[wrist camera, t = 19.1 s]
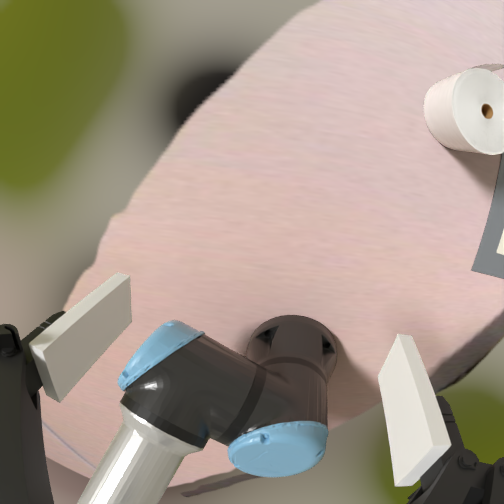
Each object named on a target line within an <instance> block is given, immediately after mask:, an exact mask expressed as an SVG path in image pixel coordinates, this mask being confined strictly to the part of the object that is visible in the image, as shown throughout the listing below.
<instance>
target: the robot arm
mask: <svg viewBox="0 0 504 504" xmlns="http://www.w3.org/2000/svg"><path fill="white" fill-rule="evenodd" d="M131 322H132V313H131V289H130V276H129V275H126V274H122V273H118V272H117V273H116V274H115V275H113V276H112V277H111V278H109V279H108V280H107V281H105V282H104V283H103V284H101V285H100V286H99V287H98V288H96V289H95V290H94V291H92V292H91V293H90V294H89V295H87V296H86V297H85V298H84V299H82V300H81V301H80V302H78V303H77V304H76V305H75V306H73V307H72V308H71V309H70V310H69V311H67V312H65V311H61V312H58V313H56V314H54V315H52V316H51V317H49V318H48V319H47V320H46V321H45V322H43V323H42V324H41V325H40V326H39V327H37V328H36V329H35V330H33V331H32V332H31V333H30V334H29V335H27V336H26V337H25V338H24V339H22V340H20V337H19V333H18V330H17V328H16V327H15V326H13V325H11V324H2V325H0V504H54V501H53V496H52V492H51V487H50V482H49V476H48V471H47V465H46V457H45V450H44V442H43V433H42V422H41V407H40V394H39V391H38V390H39V389H40V388H41V387H42V386H43V388H44V390H45V393H46V395H47V396H49V397H51V398H52V399H54V400H56V401H58V402H59V403H60V402H61V401H62V400H63V399H64V398H65V396H66V395H67V394H68V393H69V392H70V391H71V389H72V388H73V387H74V386H75V385H76V384H77V382H78V381H79V380H80V379H81V378H82V377H83V376H84V374H85V373H86V372H87V371H88V370H89V369H90V368H91V366H92V365H93V364H94V363H95V362H96V361H97V360H98V359H99V357H100V356H101V355H102V354H103V353H104V352H105V351H106V350H107V349H108V347H109V346H110V345H111V344H112V343H113V342H114V341H115V340H116V339H117V337H118V336H119V335H120V334H121V333H122V332H123V331H124V330H125V329H126V328H127V327H128V325H129V324H130V323H131ZM336 360H337V351H336V343H335V340H334V338H333V336H332V334H331V333H330V332H329V330H328V329H327V328H326V327H324V326H323V325H322V324H320V323H319V322H317V321H315V320H313V319H310V318H307V317H304V316H297V315H285V316H279V317H275V318H273V319H270V320H268V321H266V322H264V323H263V324H262V325H260V326H259V327H258V328H257V329H256V330H255V331H254V333H253V335H252V336H251V339H250V342H249V345H248V349H247V358H246V357H244V356H242V355H240V354H238V353H236V352H235V351H233V350H231V349H229V348H227V347H226V346H224V345H222V344H220V343H219V342H217V341H215V340H213V339H212V338H210V337H208V336H206V335H205V333H204V332H203V331H200V332H199V331H198V330H196V329H194V328H192V327H190V326H188V325H186V324H184V323H183V322H180V321H177V320H172V321H168V322H166V323H164V324H163V325H161V326H160V327H159V328H158V329H156V330H155V331H154V332H153V333H152V334H151V335H150V336H149V337H148V339H147V340H146V341H145V342H144V343H143V344H142V345H141V347H140V348H139V349H138V350H137V351H136V353H135V354H134V355H133V357H132V358H131V359H130V361H129V362H128V364H127V365H126V367H125V369H124V371H123V372H122V373H121V375H120V376H119V379H118V385H119V387H120V388H121V390H123V391H126V392H125V394H124V396H123V398H122V399H121V401H120V403H119V406H120V409H121V412H122V416H123V422H122V424H121V426H120V428H119V429H118V431H117V433H116V435H115V436H114V438H113V440H112V442H111V443H110V445H109V447H108V449H107V450H106V452H105V454H104V456H103V458H102V459H101V461H100V463H99V465H98V466H97V468H96V470H95V472H94V474H93V475H92V477H91V479H90V481H89V483H88V484H87V486H86V488H85V490H84V492H83V493H82V496H81V497H80V499H79V501H78V503H77V504H157V503H158V502H159V500H160V498H161V497H162V495H163V493H164V492H165V490H166V488H167V486H168V485H169V483H170V481H171V480H172V478H173V476H174V474H175V473H176V471H177V469H178V467H179V466H180V464H181V462H182V460H183V459H184V457H185V456H186V455H188V454H190V453H195V452H199V451H202V450H203V449H204V447H205V445H206V443H207V441H208V440H209V439H210V438H211V439H213V440H216V441H218V442H220V443H222V444H224V445H226V446H229V448H228V450H227V451H228V456H229V460H230V461H231V463H233V464H234V466H235V467H236V468H238V469H240V470H241V471H243V472H246V473H249V474H252V475H257V476H263V477H283V476H291V475H295V474H299V473H302V472H304V471H307V470H309V469H310V468H312V467H313V466H315V465H316V464H317V463H318V462H319V461H320V460H321V459H322V457H323V455H324V453H325V448H326V440H327V436H328V429H327V383H328V381H329V379H330V377H331V375H332V373H333V370H334V368H335V365H336ZM378 381H379V386H380V391H381V396H382V402H383V407H384V412H385V418H386V424H387V430H388V436H389V443H390V450H391V457H392V465H393V473H394V482H395V486H412V485H413V484H414V483H415V482H416V481H418V480H419V479H420V480H421V487H419V488H418V489H417V490H416V491H415V492H414V493H413V494H411V495H410V496H409V497H408V499H410V500H409V502H408V503H407V504H504V457H502V458H500V459H498V460H497V461H496V462H495V463H494V464H493V465H491V464H486V463H482V462H479V459H478V458H477V456H476V454H474V453H473V452H472V451H470V450H468V449H465V448H464V445H463V442H462V439H461V436H460V433H459V430H458V427H457V424H456V423H455V419H454V416H453V413H452V410H451V408H450V405H449V404H448V402H447V401H446V400H445V399H444V397H443V396H435V394H434V391H433V388H432V385H431V383H430V380H429V377H428V375H427V372H426V370H425V367H424V364H423V362H422V359H421V357H420V354H419V352H418V350H417V347H416V345H415V342H414V340H413V338H412V336H410V335H403V334H398V335H397V337H396V339H395V341H394V344H393V346H392V348H391V350H390V352H389V355H388V357H387V359H386V361H385V363H384V365H383V367H382V369H381V371H380V373H379V375H378Z"/></svg>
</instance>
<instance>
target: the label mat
mask: <svg viewBox="0 0 504 504" xmlns="http://www.w3.org/2000/svg"><path fill="white" fill-rule="evenodd" d="M472 271H476V272H480V273H484V274H487V275H491V276H495V277H499V278H503V279H504V152H503V153H502V157H501V163H500V168H499V173H498V178H497V183H496V187H495V192H494V196H493V200H492V204H491V208H490V212H489V216H488V220H487V223H486V227H485V230H484V233H483V237H482V240H481V243H480V246H479V249H478V252H477V255H476V258H475V261H474V264H473V267H472Z"/></svg>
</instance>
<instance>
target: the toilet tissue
mask: <svg viewBox="0 0 504 504" xmlns="http://www.w3.org/2000/svg"><path fill="white" fill-rule="evenodd" d="M502 68H504V65H501V64H484V65H480V66H476V67H473V68H470V69H467V70H465V71H462V72H460V73H457V74H455V75H452V76H450V77H448V78H445V79H443V80H440V81H438V82H436V83H435V84H434V85H433V86H431V87H430V89H429V90H428V92H427V94H426V96H425V99H424V108H423V111H424V118H425V121H426V124H427V126H428V128H429V130H430V132H431V134H432V135H433V136H434V138H435V139H436V140H437V141H438V142H439V143H441V144H442V145H444V146H445V147H447V148H450V149H453V150H457V151H468V152H473V153H480V154H487V155H488V154H490V155H496V154H501V153H503V152H504V82H503V81H502V80H501V79H500V78H499V77H498V76H497V75H496V74H494V73H492V71H495V70H499V69H502Z"/></svg>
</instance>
